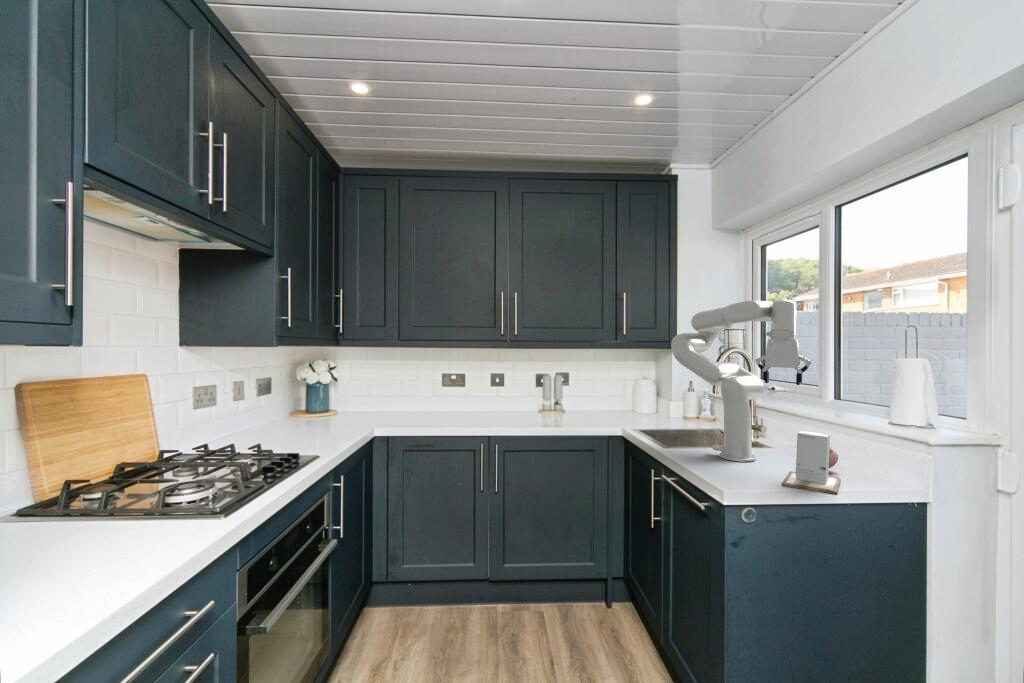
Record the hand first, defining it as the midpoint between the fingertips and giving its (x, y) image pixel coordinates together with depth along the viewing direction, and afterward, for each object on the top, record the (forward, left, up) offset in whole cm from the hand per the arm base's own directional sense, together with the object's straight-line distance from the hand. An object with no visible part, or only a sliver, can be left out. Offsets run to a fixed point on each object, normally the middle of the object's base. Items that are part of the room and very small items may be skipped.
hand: (782, 383), depth 164 cm
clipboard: (+10, -15, -30) cm, 35 cm away
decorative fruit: (+11, +5, -30) cm, 32 cm away
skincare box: (+10, -14, -29) cm, 34 cm away
